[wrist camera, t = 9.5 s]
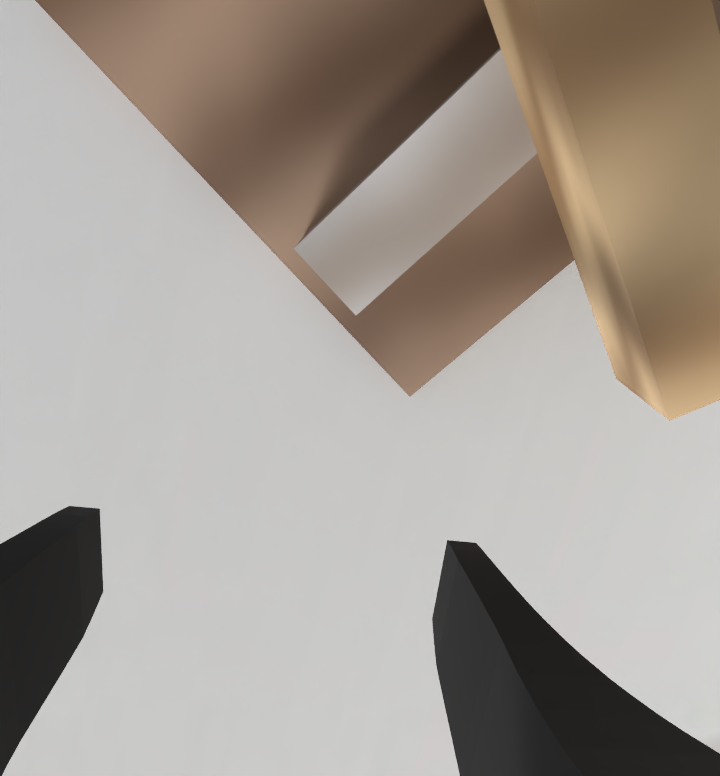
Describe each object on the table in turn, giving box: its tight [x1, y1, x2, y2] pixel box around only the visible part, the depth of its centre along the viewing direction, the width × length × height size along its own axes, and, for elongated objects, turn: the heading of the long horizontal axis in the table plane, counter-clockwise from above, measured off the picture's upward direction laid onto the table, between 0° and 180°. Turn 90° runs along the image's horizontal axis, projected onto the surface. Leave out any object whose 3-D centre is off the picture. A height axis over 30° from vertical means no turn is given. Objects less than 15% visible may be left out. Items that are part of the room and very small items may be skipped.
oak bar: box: [484, 0, 720, 421], centre depth 13 cm, size 16×3×3 cm, turn 26°
